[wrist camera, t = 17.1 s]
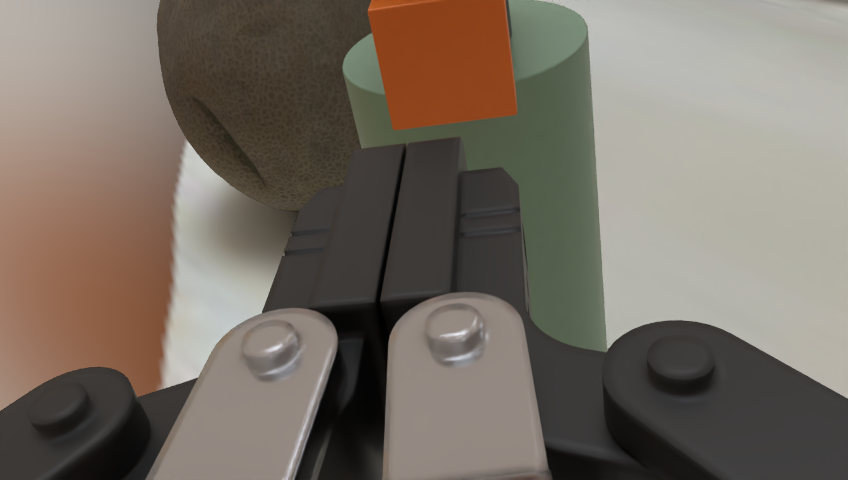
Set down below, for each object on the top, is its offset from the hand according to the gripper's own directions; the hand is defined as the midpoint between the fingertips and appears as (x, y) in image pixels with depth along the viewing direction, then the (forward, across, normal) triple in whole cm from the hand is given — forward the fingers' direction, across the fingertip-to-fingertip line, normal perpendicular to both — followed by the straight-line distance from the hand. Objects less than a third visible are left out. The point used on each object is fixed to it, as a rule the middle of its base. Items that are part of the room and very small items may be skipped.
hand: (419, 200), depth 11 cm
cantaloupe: (+28, +9, +16) cm, 34 cm away
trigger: (+6, 0, +1) cm, 6 cm away
